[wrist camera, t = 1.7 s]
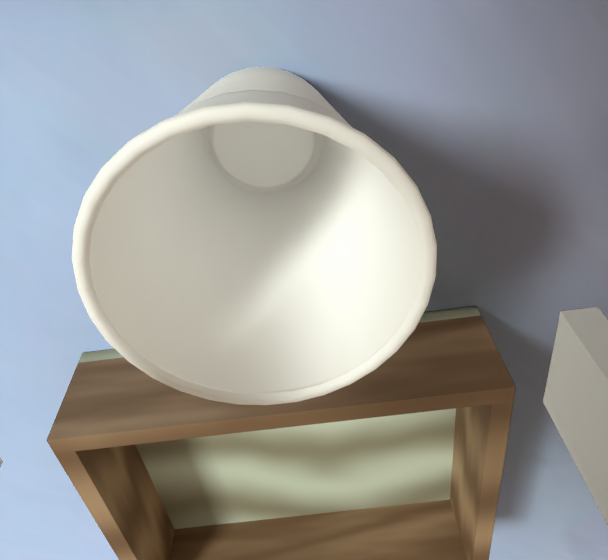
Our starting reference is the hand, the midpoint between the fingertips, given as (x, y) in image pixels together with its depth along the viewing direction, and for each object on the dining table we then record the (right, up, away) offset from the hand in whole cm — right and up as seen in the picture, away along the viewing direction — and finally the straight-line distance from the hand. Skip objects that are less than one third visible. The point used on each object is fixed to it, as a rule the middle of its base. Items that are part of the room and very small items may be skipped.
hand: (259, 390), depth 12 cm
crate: (+1, -7, +23) cm, 25 cm away
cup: (-1, +9, +12) cm, 15 cm away
